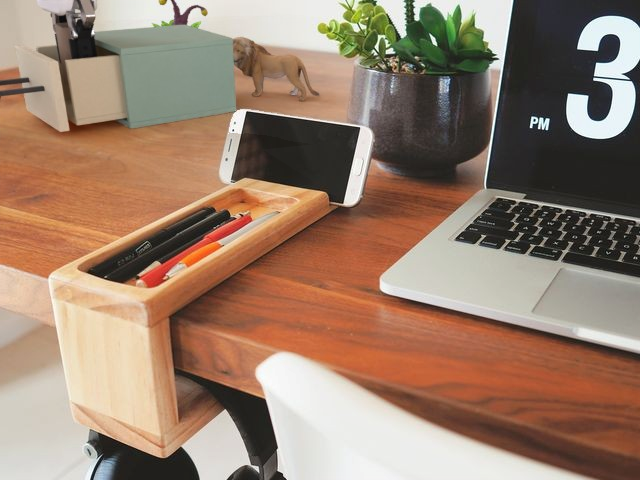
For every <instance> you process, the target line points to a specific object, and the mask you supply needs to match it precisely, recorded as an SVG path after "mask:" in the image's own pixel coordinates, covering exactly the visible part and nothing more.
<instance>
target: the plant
mask: <svg viewBox="0 0 640 480" xmlns="http://www.w3.org/2000/svg"><path fill="white" fill-rule="evenodd" d="M170 1H171V4H172V6H173V7H172V11H173V13H174V15H173V19H170V20H169V22H166V21H164V20H161V21H160V22H161V24H160V25H159V24H157V23H153V22H151V25H152V27H161V26H173V25H188V22H189V20H188V19H189V16H190V14H191V12H192V11H193V10H194V9H200V12H201V15H202V16H203V17H206V16H208V9H206V8H205V7H204V6H202V5H198V4H193V5H191V6H188V7H187V8H186V10H185V11H184V12H183V14H181V9H180V7H179V5H178V4H177V2H176V1H175V0H170ZM167 2H168V0H158V3H159V6H165V5H166V4H167ZM201 24H202V21H201V20H200V21H196V22H193V23H191V24H190V26H191V27H195V28H198V29H199V28H200V25H201Z"/></svg>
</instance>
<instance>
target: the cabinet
mask: <svg viewBox="0 0 640 480" xmlns="http://www.w3.org/2000/svg"><path fill="white" fill-rule="evenodd" d="M160 26H161V25H160ZM94 33H95V38H94V39H95V45H97V46H100V47H102V48H105V49H108V50H110V51H113V52H115V53H118V54H119V56H120V64H121V72H122V80H123V88H124V96H125V103H126V111H127V118H123V119H116V120H115V121H116V122H118V123H119V124H121V125H123V126H125V127H126V128H128V129H130V130H132V129H139V128H145V127H150V126H156V125H163V124H168V123H175V122H181V121H187V120H193V119H198V118H205V117H211V116H217V115H224V114H230V113H235V112H234V111H235V110H237V95H236V94H237V93H236V78H235V77H236V76H235V74H236V73H235V65H234V57H233V39H234V38H233V37H230V36H225V35H223V34H219V33H216V32H212V31H209V30H205V29H202V28H199V27H198V28H195V27H191V25H188V24H187V25H173V26H161V27H154V26H150V27H149V26H147V27H136V28H123V29H113V30H111V29H110V30H99V31H94ZM229 112H230V113H229Z"/></svg>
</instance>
